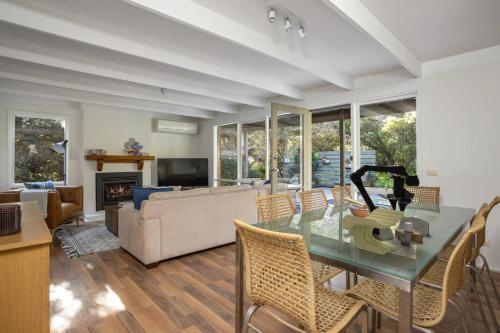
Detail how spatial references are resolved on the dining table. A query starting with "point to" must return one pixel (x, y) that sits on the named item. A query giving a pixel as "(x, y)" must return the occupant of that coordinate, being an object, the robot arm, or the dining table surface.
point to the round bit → (405, 239)
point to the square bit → (408, 227)
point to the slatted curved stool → (366, 225)
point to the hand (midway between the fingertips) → (398, 212)
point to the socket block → (414, 236)
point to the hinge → (416, 224)
